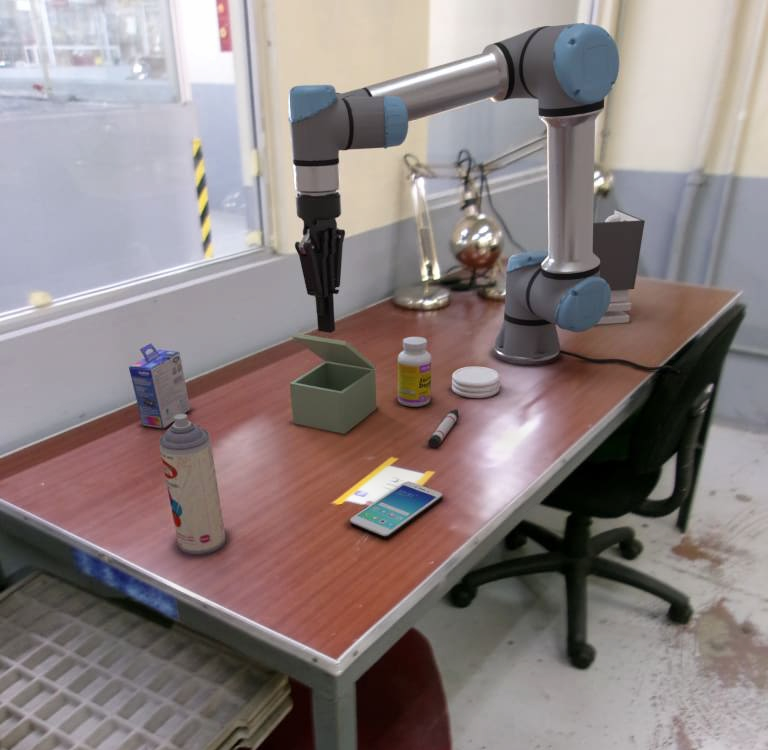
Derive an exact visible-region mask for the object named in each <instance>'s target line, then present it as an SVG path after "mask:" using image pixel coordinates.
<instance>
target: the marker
mask: <svg viewBox="0 0 768 750" xmlns="http://www.w3.org/2000/svg"><path fill="white" fill-rule="evenodd" d="M459 413H460V412H459V409H458V408H456V409H453V410H450V411H449V412H448V413H447V415H446V416H445V417H444V419H443V420H442V421H441V423H440V424H439V426H438V427H437V428H436V430H434V432H433V433H432V435H431V437H430V438H429V439H428V442H427V443H428V446H429V447H430V448H433V449H436V448H438V447H439V445H440V444H441V443H442V442H443V440H444V439H445V437H446V436H447V434H448V433H449V432H450V430H451V429H452V427H453V426H454V424H455V423H456V421H458V418H459Z"/></svg>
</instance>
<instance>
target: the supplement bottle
mask: <svg viewBox="0 0 768 750" xmlns="http://www.w3.org/2000/svg"><path fill="white" fill-rule="evenodd" d="M427 346H428V340H427V339H426V338H425V337H422V336H408V337H405V338H403V339H402V348H403V350H402V351H400V353H398V356H397V401H398V402H399V404H401V405H402V406H406V407H410V408H418V407H419V408H420V407H424V406H426V405H428V404H429V403H430V402H431V394H432V393H431V391H432V390H431V389H432V355H431V353H430V352H429V351H427Z"/></svg>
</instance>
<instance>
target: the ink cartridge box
mask: <svg viewBox="0 0 768 750" xmlns="http://www.w3.org/2000/svg"><path fill="white" fill-rule="evenodd" d="M148 350H152V352H150V353H148V354H146V352H147V351H148ZM139 351H140V352H141V354H142V356H143V358H142V359H140V360H138V361H137V362H135V363H134V364H132V365H130V366H129V367H128V370H129V374H130V379H131V383H132V387H133V390H134V395H135V399H136V403H137V408H138V411H139V416H140V420H141V424H142V426H144V427H149V428H155V429H165V428H167V427H168V426H169V425H171V424H172V423H174V422H175V421H174V416H176V415H178V414H186V413H187V412H188V411H190V410H191V406H190V400H189V394H188V390H187V385H186V378H185V375H184V374H185V373H184V370H183V364H182V363H183V362H182V359H181V353H180V351H175V350H174V351H173V350H165V349H164V350H163V349H156V347H155V346H154V345H153V344H152V343H148V344H147V345H145V346H143V347H141V348H140V349H139Z"/></svg>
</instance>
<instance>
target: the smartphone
mask: <svg viewBox="0 0 768 750" xmlns="http://www.w3.org/2000/svg"><path fill="white" fill-rule="evenodd" d="M442 500H443V493H442V492H440V491H438V490H435V489H432V488H429V487H427V486H423V485H421V484H418V483H415V482H412V481H409V480H408V481H404V482H402V483H401V484H399V485H398V486H397V487H395V488H394V489H392V490H390V491H389V492H387V493H386V494H385V495H383V496H381V497H380V498H379V499H377V500H375V501H374V502H372V503H371V504H369V505H368V506H367V507H365V508H364V509H362V510H361V511H359V512H357V513H356V514H355V515H353V516H351V517H350V518H349V524H350V525H351V526H352V527H355V528H357V529H359V530H362V531H364V532H367V533H369V534H372V535H374V536H376V537H379V538H381V539H384V540H387V539H390V538H391V537H393V536H394V535H395V534H397V533H398V532H400V531H401V530H403V529H404V528H405V527H406V526H407V525H409V524H411V523H412V522H413V521H415V520H416V519H417V518H419V517H420V516H421V515H423V514H424V513H425V512H427V511H428V510H430V509H431V508H432V507H434V506H435V505H436V504H438V503H439V502H440V501H442Z"/></svg>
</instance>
